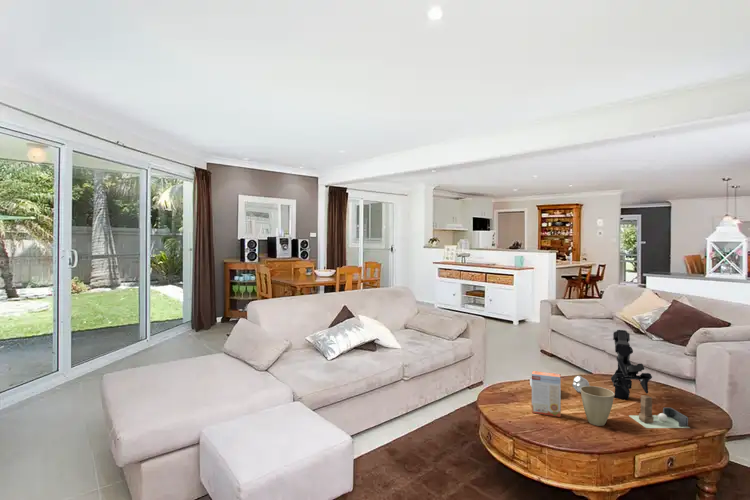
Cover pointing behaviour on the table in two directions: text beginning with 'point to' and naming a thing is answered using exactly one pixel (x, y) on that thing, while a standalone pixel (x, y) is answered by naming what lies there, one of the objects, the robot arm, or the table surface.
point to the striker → (646, 409)
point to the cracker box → (546, 393)
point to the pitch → (658, 422)
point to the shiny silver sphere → (579, 383)
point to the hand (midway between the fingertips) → (638, 393)
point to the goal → (676, 416)
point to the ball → (662, 417)
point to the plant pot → (597, 404)
